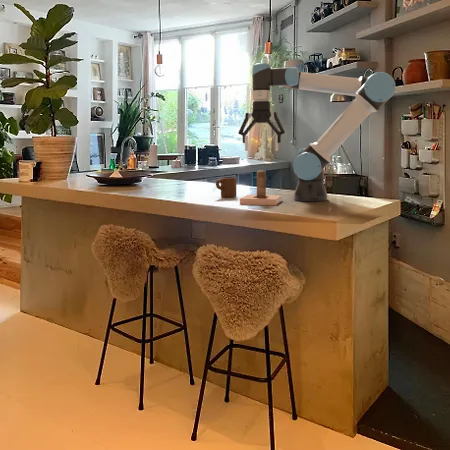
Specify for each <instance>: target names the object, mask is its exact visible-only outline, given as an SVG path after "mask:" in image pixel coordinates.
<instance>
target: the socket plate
mask: <svg viewBox="0 0 450 450" xmlns="http://www.w3.org/2000/svg"><path fill="white" fill-rule="evenodd" d="M281 202H283V196H282V195H277V194H275V195H274V194H273V195H271V194H269V195H268V194H266V198H257V194H246V195H245V196H242V197H240V198H239V205H252V206H253V205H254V206H255V205H257V206H277V205H278V204H280V203H281Z"/></svg>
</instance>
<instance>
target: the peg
mask: <svg viewBox="0 0 450 450" xmlns="http://www.w3.org/2000/svg"><path fill="white" fill-rule="evenodd" d="M266 174H267V171H266V170H257V171H256V195H257V198H266V195H267V193H266V192H267V191H266V189H267V183H266V182H267V181H266V180H267V175H266Z"/></svg>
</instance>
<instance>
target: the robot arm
mask: <svg viewBox="0 0 450 450" xmlns="http://www.w3.org/2000/svg"><path fill="white" fill-rule="evenodd" d="M251 76H252V78H251V79H252V100H253V102H252V113H250V112H245V115H244V119H243V122H242V124H241V126H240V128H239V130H238V132H237V133H238V135H240V136H242V144H244V151H245V152H249V135H248V133H249V132H250V131H251V129H252V128H253V127H254V126H255V125H256V124H268V125H269V126H270V127H271V129H272V130H273V131H274V133H275V134H276V135H275V149H274V150H275V151H276V152H278V151H279V144H280V143H282V140H281V139H282V135H284V134H286V131H285V129H284V127H283V125H282V122H281V121H280V119H279V116H278V115H279V114H278V112H277V111H274V112H271V101H270V100H271V87H283V88H285V89H288V90H291V89H292V90H293V89H294V90H303V91H310V92H319V93H327V94H334V95H335V94H336V95H344V96H351V97H355V98H354V99H353V100H352V102H351V103H350V104H349V105H347V106H348V107H346V108H345V110H343V112H341V114H340V115H339V116H338V117H337V119H335V121H334V122H333V123H332V124H330V126H329V127H328V129H327V130H326V131H325V132H324V133H323V134H322V135H321V136H320V137H319V138H318V139H317V141H315V142H311V143H309V144H308V145H307V146H306V147H305V148H299V150H298V151H297V156H296V157H295V159H294V161H293V165H292V166H293V171H294V174H295V175H296V176H297V184H296V187H295V191H294V194H293V200H294V201H300V202H325V201H327V200H328V193H327V189H326V186H325V183H324V181H325V180H324V179H325V178H324V177H325V175H324V174H325V173H324V172H325V168H326V167H327V166H328V165H329V164H330V163H331V157H332V156H333V154H334V153H335V152H336V151H337V150H338V149H339V148H340V147H341V146H342V145H343V143H344V142H345V141H346V140H347V139H349V137H350V136H351V135H352V134H353V133H354V131H356V130H357V129H358V127H359V126H360V125H361V124H362V123H363V122H364V121H365V120H366V118H368V116H369V115H370V114H372V113H377V112H378V111H379V110H381V108H382V107H383V106H384V104H386V103H387V102H388V101H389V100H390V99H391V98H392V97H393V95H394V94H395V91H396V87H397V86H396V82H395V79H394V77H392V76H391V75H390V74H388V73H386V72H384V71H377V72H374V73H372V74H371V75H369V76H360V77H359V78H358V77H349V76H339V75H332V74H322V73H313V72H305V71H299V68H298V67H295V66H293V67H292V66H287V67H271V65H270V63H268V62H259V63H255V64H253V65H252V75H251ZM251 117H252V118H253V119H252V121H250V123H249V125H248V126H247V124H248V122H249V119H250V118H251ZM271 117H272V118H273V119H274V120H275V122H276V125H277V126H278V128H277V127H276V125H275V123H273V122H272V120H271V119H270V118H271ZM246 126H247V127H246Z"/></svg>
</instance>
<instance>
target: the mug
mask: <svg viewBox="0 0 450 450" xmlns="http://www.w3.org/2000/svg"><path fill="white" fill-rule="evenodd" d="M215 187H216V189H218V190H220V197H221V198H223V199H224V198H225V199H231V198H236V197H237V177H234V176H223V177H220V178H219V179H217V180H216V182H215Z"/></svg>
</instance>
